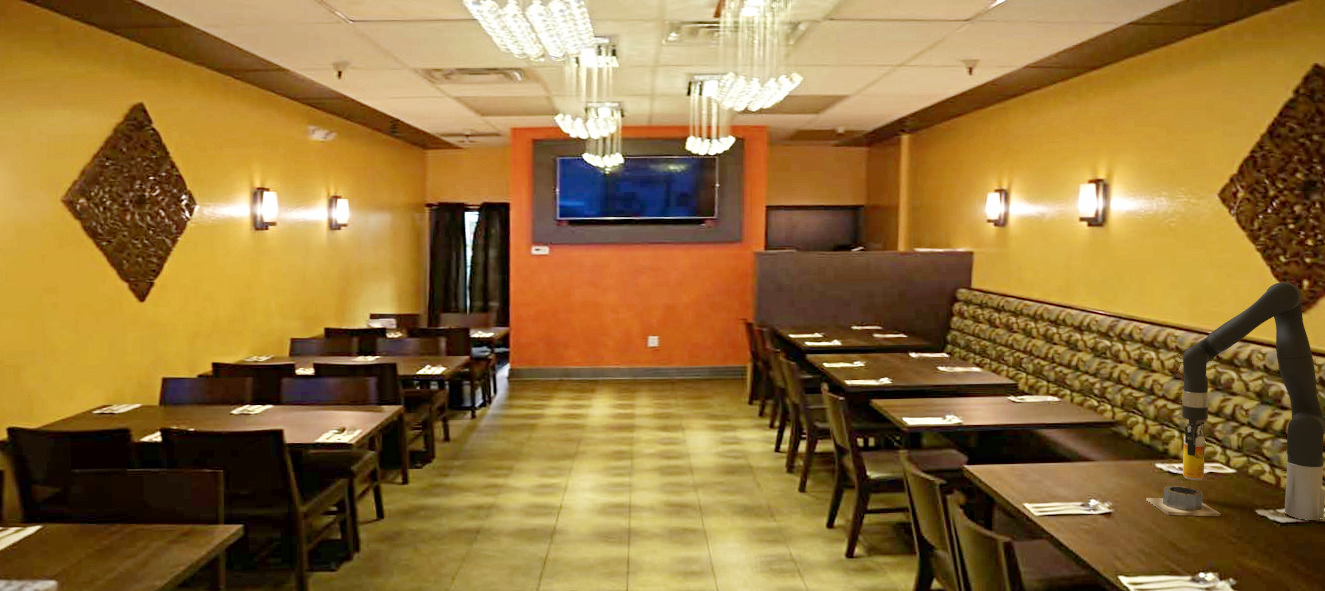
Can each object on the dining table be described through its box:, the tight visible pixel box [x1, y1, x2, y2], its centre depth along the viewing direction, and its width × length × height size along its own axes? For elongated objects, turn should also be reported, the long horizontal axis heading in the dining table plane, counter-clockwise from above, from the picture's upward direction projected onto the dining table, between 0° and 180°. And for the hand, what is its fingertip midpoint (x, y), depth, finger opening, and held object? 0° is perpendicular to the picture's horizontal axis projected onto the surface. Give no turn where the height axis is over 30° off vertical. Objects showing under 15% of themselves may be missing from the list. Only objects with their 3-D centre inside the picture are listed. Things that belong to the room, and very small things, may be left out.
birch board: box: [1146, 497, 1221, 517], centre depth 290 cm, size 16×15×1 cm
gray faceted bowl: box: [1162, 485, 1204, 511], centre depth 290 cm, size 11×11×5 cm
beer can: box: [1182, 434, 1206, 481], centre depth 301 cm, size 6×6×15 cm
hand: (1193, 453), depth 301 cm, fingers closed on beer can, 5 cm apart
